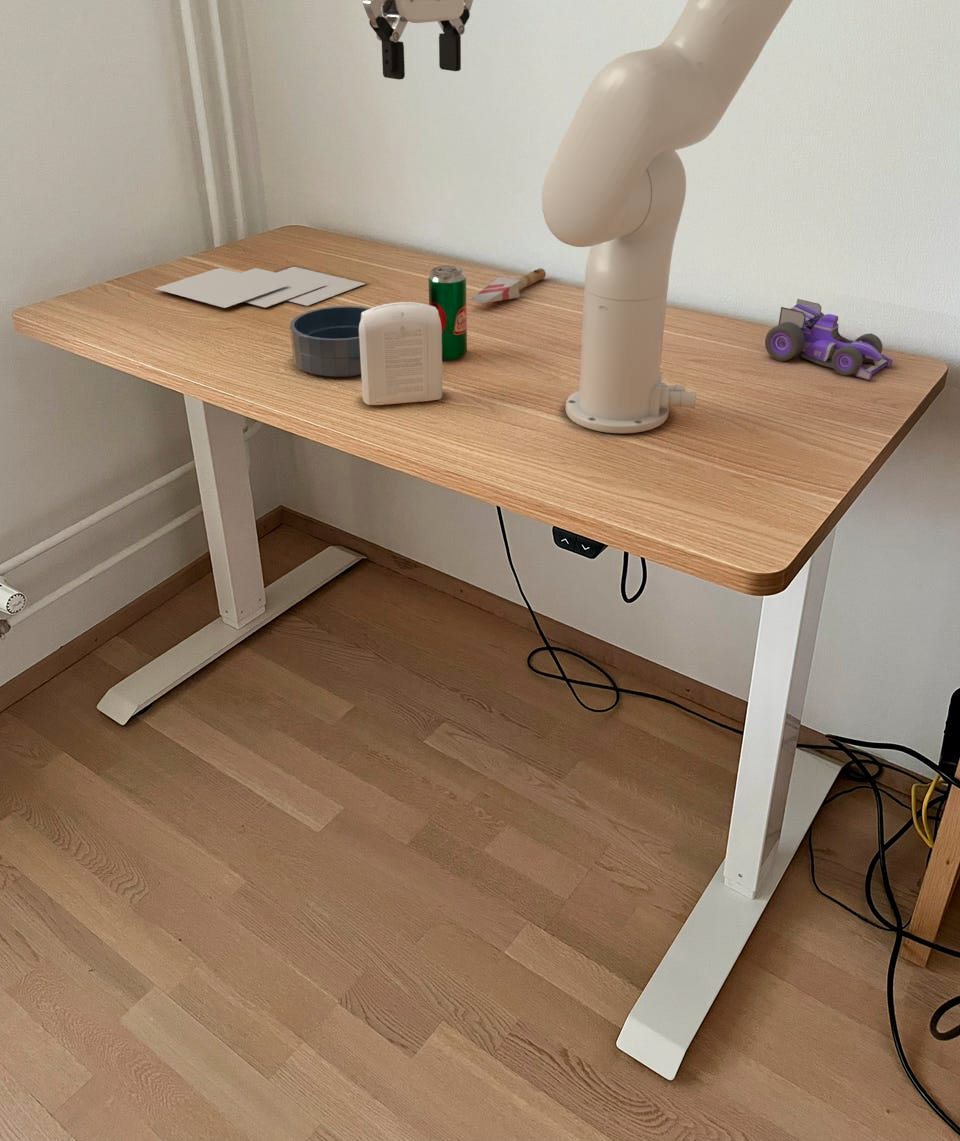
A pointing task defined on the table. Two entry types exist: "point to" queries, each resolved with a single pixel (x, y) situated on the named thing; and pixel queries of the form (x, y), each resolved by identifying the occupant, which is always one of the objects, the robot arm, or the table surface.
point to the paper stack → (260, 287)
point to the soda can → (450, 309)
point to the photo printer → (401, 353)
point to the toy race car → (823, 341)
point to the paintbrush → (508, 287)
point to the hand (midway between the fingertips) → (422, 74)
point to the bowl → (328, 341)
